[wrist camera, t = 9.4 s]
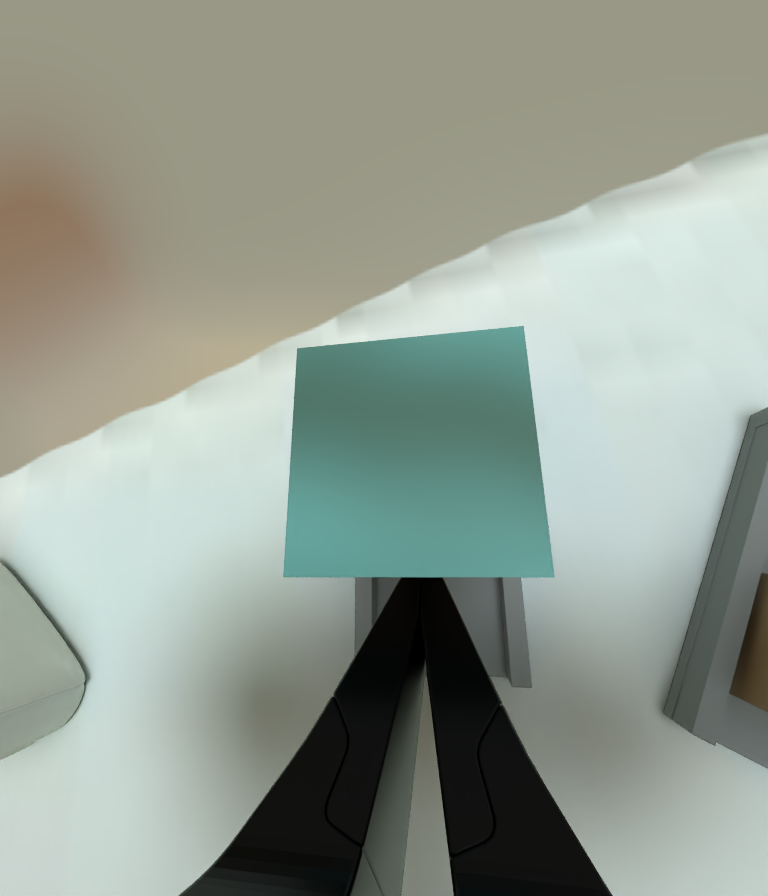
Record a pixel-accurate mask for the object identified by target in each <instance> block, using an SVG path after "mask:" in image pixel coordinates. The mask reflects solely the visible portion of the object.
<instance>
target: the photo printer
mask: <svg viewBox="0 0 768 896" xmlns="http://www.w3.org/2000/svg"><path fill="white" fill-rule="evenodd" d="M84 682H85V675H84V672H83V670H82V668H81V666H80V664H79V662H78V661H77V659H76V658H75V656H74V655H73V653H72V652H71V650H70V649H69V647H68V646H67V644H66V643H65V641H64V640H63V639H62V637H61V636H60V634H59V633H58V632H57V630H56V629H55V628H54V626H53V625H52V624H51V622H50V621H49V620H48V618H47V617H46V616H45V614H44V613H43V612H42V610H41V609H40V608H39V607H38V605H37V604H36V602H35V601H34V600H33V599H32V597H31V596H30V595H29V594H28V593H27V592H26V590H25V589H24V588H23V586H22V585H21V584H20V583H19V582H18V580H17V579H16V578H15V577H14V576H13V575H12V573H11V572H10V571H9V570H8V569H7V568H6V567H5V566H4V565H2V564H1V563H0V760H1V759H3V758H6V757H8V756H10V755H12V754H14V753H16V752H18V751H20V750H22V749H24V748H26V747H28V746H30V745H31V744H33V743H34V742H35V741H36V740H37V739H39V738H41V737H43V736H45V735H47V734H50V733H52V732H53V731H55V730H57V729H59V728H60V727H61V726H63V725H64V724H65V723H66V722H67V721H68V720H69V719H70V718H71V716H72V715H73V714H74V712H75V711H76V709H77V707H78V705H79V703H80V701H81V699H82V696H83V692H84V688H85V686H84Z"/></svg>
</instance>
